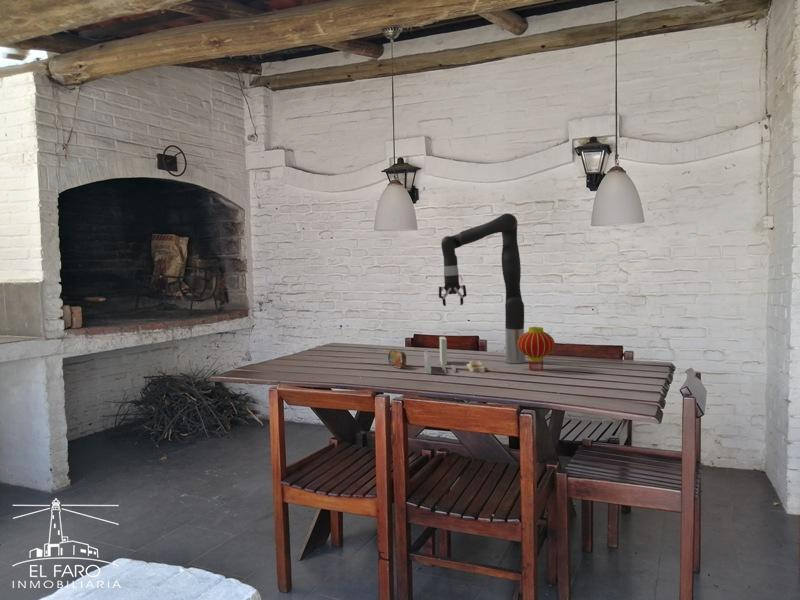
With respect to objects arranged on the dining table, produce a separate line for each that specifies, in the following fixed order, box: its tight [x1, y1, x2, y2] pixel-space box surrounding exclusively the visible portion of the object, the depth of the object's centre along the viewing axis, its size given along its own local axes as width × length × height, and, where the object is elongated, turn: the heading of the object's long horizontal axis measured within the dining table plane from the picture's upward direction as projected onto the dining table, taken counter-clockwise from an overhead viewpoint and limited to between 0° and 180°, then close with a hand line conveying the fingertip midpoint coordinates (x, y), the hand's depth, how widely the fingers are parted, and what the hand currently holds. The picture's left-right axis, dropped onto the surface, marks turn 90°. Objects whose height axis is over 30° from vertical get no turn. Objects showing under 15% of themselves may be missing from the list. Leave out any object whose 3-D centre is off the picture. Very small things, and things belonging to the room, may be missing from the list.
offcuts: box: [466, 360, 486, 373], centre depth 291 cm, size 6×14×4 cm, turn 3°
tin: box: [387, 349, 407, 369], centre depth 301 cm, size 15×3×8 cm, turn 28°
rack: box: [423, 350, 457, 375], centre depth 290 cm, size 14×18×8 cm
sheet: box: [439, 336, 448, 365], centre depth 310 cm, size 2×10×13 cm, turn 2°
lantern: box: [517, 326, 556, 372], centre depth 286 cm, size 17×17×30 cm
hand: (453, 305), depth 317 cm, fingers open, 8 cm apart
